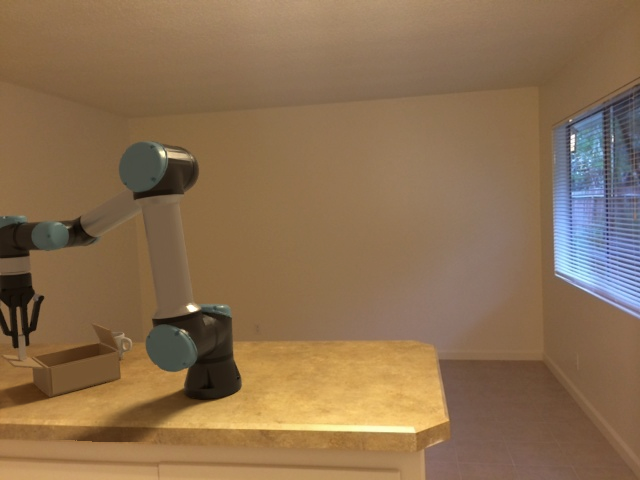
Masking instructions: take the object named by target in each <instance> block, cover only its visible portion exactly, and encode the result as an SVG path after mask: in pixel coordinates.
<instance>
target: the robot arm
mask: <svg viewBox="0 0 640 480" xmlns="http://www.w3.org/2000/svg"><path fill="white" fill-rule="evenodd" d="M118 174H119V175H118V176H119V179H120V181H121V183H122V184H123V185H124V186H125V187H126V188H125V189H122V191H120V192H118V193H116V194H114V195H113V196H111V197H109V198H108V199H106V200H105V201H103V202H101V203H100V204H98V205H96V206H94V207H93V208H92V209H90V210H88V211H86V212H85V213H83V214H81V215H80V216H78V217H76V218H75V219H72V220H69V219H68V220H48V221H47V220H46V221H45V220H43V221H31V222H30V221H29V222H28V219H27V218H28V217H27V216H26V215H23V214H20V215H0V329H1V331H2V334H3V335H5V336H6V337H11V344H12V345H11V346H12V348H13V349H15V350H16V352H17V356H18V359H19V360H20V361H21V360H26V359H27V358H26V357H27V348H26V347H29V346H30V344H31V343H30V334H31V333H33V332H35V331H36V330H37V327H38V322H39V316H40V311H41V306H42V305H41V304H42V303H43V301H44V299H45V296H44V295H42V294H39V293H36V291H35V289H34V287H33V280H32V279H33V278H32V273H31V272H30V271H31V270H32V265H31V254H30V251H44V252H45V251H46V252H50V251H57V250H61V249H66V248H75V247H77V248H78V247H87V246H90V245H95V244H97V243H98V242H99V241H100V238H102V235H104V234H106V233H108V232H110V231H112V230H114V229H115V228H117V227H118V226H120V225H121V224H124V223H126V222H128V221H129V220H130V219H132V218H134V217H136V216H138V215H140V214H141V213H142V218H143V219H142V220H143V223H144V224H143V225H144V230H145V231H144V232H145V238H146V243H147V244H146V245H147V251H148V257H149V264H150V270H151V271H150V272H151V277H152V284H153V291H154V297H155V302H156V309H155V311H154V312H153V314H151V323H152V327H153V328H152V329H150V331H149V333H148V335H147V336H146V338H145V351H146V353H147V356H148V358H149V359H150V362H151V363H153V364H154V365H156V366H157V367H158V368H159V369H161V370H162V371H164V372H169V373H177V372H180V371H183V370H185V369H186V370H187V372H186V376H185V380H184V383H183V387H184V389H183V390H184V391H183V392H184V394H185V396H187V397H189V398H193V399H197V400H198V399H199V400H211V399H217V398H218V399H220V398H222V397H226V396H230V395H233V394H235V393H236V392H238V391H239V390H241V388H242V386H243V385H242V383H243V381H242V376H241V374H240V373H241V372H240V371H239V368H238V366H237V363H236V361H235V358H234V357H235V355H234V338H233V337H234V336H233V316H232V310H231V309H232V308H231V306H229V305H228V304H225V303H198V304H197V303H196V302H195V299H194V294H193V285H192V281H191V280H192V279H191V274H190V273H191V272H190V268H189V267H190V266H189V260H188V254H187V247H186V241H185V240H186V239H185V235H184V227H183V221H182V213H181V208H180V203H181V202H182V200H183V199H184V198H185V193H186V192H187V191H189V190H191V189H192V188H193V187H194V186H195V185H196V183H197V180H198V179H199V177H200V167H199V162H198V160H197V158H196V157H195V155H194V154H193V152H191V151H190V150H188V149H187V148H185V147H182V146H178V145H177V146H176V145H170V144H165V143H161V142H158V141H154V140H153V141H147V140H146V141H144V140H142V141H137V142H135V143H132V144H131V145H129V146H128V147H127V148H126V149H125V150H124V153H123V154H121V158H120V160H119V164H118ZM31 300H33V305H32V309H31V310H32V311H31V314H30V315H31V316H30V322H29V316H28V314H29V313H28V305H29V303H30V302H31ZM1 302H2V303H3V304H4V305H5V306H6V307H8V313H9V325H10V329H9V326H8V323H7V320H6V319H5V316H4V313H3V310H2V308H1V306H2V303H1ZM17 308H19V314H20V324H21V325H20V326H21V334H19V328H18V327H19V326H18V316H17V315H18V314H17V311H18V309H17Z"/></svg>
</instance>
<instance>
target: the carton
mask: <svg viewBox="0 0 640 480" xmlns="http://www.w3.org/2000/svg"><path fill="white" fill-rule="evenodd" d="M30 358H31V359H32V360H34V361H35V362H37V363H38V364H39V365H41V366H42V367H43V369H37V368H31V369H32V381H33V385H34V386H36V388H38V389H39V390H40V391H41V392H43V393H44V394H45V395H46V396H47V397H49V398H53V397H57V396H61V395H65V394H69V393H72V392H76V391H79V390H83V389H87V388H90V386H91V387H94V385H95V386H98V385H102V384H106V383H109V381H110V382H113V381H117V380H121V379H122V375H121V362H120V359H121V358H119V352H118V351H116V350H114V349H112V348H110V347H108V346H105V345H103V344H101V343H100V342H95V343H90V344H86V345H81V346H77V347H72V348H71V347H70V348H67V349H62V350H57V351H53V352H48V353H43V354H37V355H35V356H34V355H33V356H31V357H30ZM120 378H121V379H120ZM116 379H117V380H116ZM112 380H113V381H112ZM105 382H106V383H105ZM101 383H102V384H101Z"/></svg>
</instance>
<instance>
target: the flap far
mask: <svg viewBox="0 0 640 480" xmlns="http://www.w3.org/2000/svg"><path fill="white" fill-rule="evenodd" d="M91 326H92V327H93V329H94V331H95V333H96V336H97V338H98V341H99V340H100V342H102V343H104V344H106V345H108V346H110V347H113V348H115V349H117V350H120V348H119V346H118V344H117V342H116V340H115V338H114V336H113V334H112V330H111V328H110V329H109V328H108V327H105V326H102V325H100V324H98V323H96V322H95V323H94V322H92V323H91ZM100 342H99V343H100Z"/></svg>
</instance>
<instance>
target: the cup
mask: <svg viewBox="0 0 640 480" xmlns="http://www.w3.org/2000/svg"><path fill="white" fill-rule="evenodd" d="M111 332H112V331H111ZM112 334H113V336H114V338H115V340H116V342H117V344H118V346H119V348H120V350H117V349H115V348H113V347H110V346H108V345H106V344H104V343H102V342H100V340H99V339H98V343H101V344H103V345H105V346H108V347H110V348H112V349H114V350H116V351H118V352H119V359H121V358H122V357H123V356H124V354H125V353H127V352H130V351H131V350H132V348H133V342H132V339H130V338H129V337H126V336H125V333H124V332H122V331H115V332H114V331H113V332H112ZM125 342H127V343H128V348H126V345H125Z"/></svg>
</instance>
